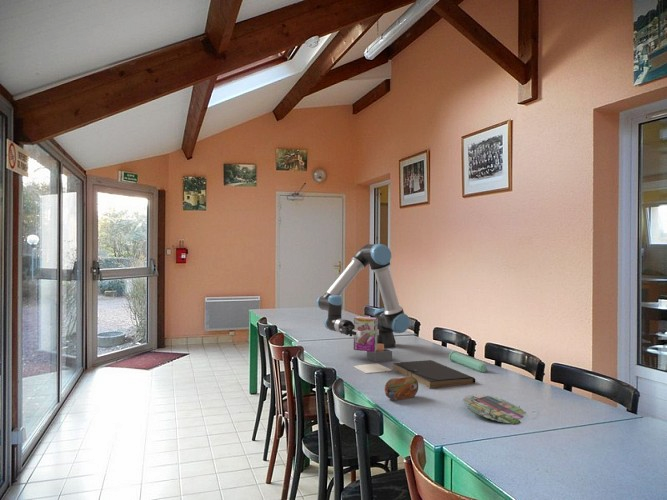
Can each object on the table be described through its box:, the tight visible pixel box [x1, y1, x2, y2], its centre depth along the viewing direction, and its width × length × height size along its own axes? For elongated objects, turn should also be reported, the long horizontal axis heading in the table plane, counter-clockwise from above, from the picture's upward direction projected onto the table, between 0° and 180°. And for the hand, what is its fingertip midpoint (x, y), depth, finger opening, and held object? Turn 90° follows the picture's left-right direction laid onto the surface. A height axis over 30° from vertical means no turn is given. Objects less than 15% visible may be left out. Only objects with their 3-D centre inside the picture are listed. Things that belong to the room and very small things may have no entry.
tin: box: [384, 375, 419, 402], centre depth 183 cm, size 15×3×8 cm, turn 117°
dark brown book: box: [392, 359, 476, 389], centre depth 216 cm, size 33×4×24 cm
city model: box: [462, 394, 526, 426], centre depth 168 cm, size 25×23×6 cm
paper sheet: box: [353, 362, 393, 375], centre depth 228 cm, size 14×14×1 cm
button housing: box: [366, 348, 393, 363], centre depth 248 cm, size 10×10×5 cm
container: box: [448, 350, 488, 373], centre depth 234 cm, size 6×6×25 cm
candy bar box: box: [353, 316, 378, 352], centre depth 229 cm, size 11×5×16 cm, turn 69°
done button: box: [376, 344, 384, 352], centre depth 248 cm, size 5×5×5 cm
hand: (369, 333), depth 227 cm, fingers closed on candy bar box, 10 cm apart
